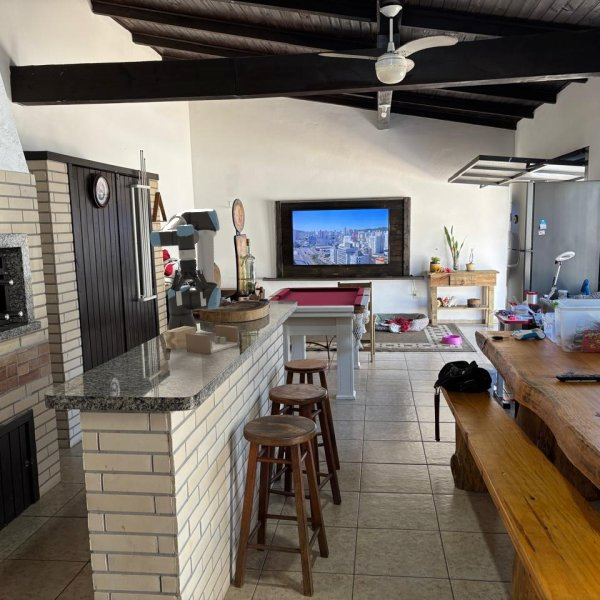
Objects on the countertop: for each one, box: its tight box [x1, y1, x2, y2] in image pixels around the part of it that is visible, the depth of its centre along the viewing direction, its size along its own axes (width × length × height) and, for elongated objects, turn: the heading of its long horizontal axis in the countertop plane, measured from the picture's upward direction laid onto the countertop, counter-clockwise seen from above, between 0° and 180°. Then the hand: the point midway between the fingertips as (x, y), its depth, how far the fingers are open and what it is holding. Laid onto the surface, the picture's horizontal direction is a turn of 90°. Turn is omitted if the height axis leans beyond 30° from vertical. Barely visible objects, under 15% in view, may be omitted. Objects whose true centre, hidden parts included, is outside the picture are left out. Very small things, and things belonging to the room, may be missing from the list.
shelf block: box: [164, 326, 197, 351], centre depth 260 cm, size 7×12×8 cm, turn 145°
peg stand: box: [186, 324, 240, 355], centre depth 252 cm, size 13×20×8 cm, turn 145°
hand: (191, 305), depth 260 cm, fingers open, 13 cm apart
